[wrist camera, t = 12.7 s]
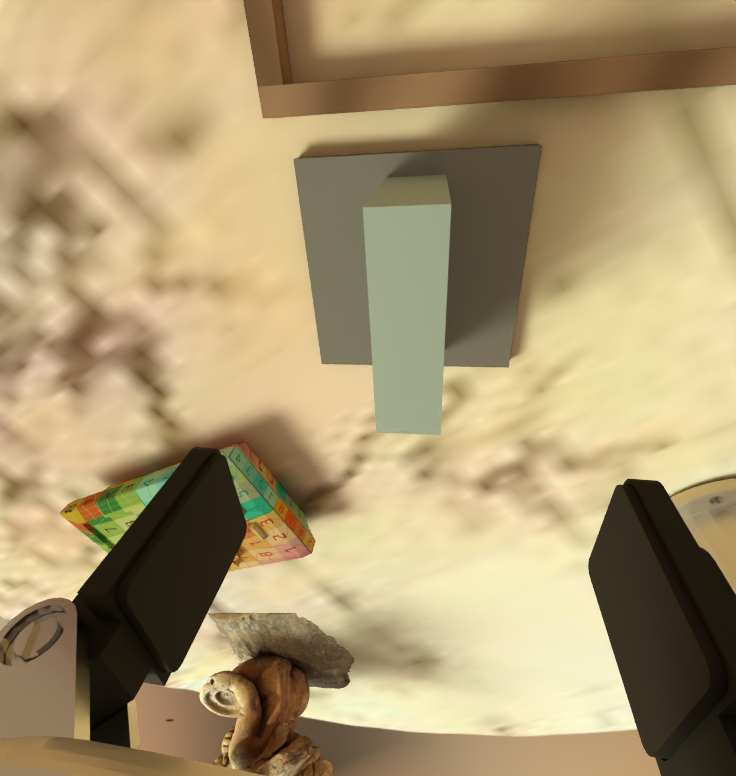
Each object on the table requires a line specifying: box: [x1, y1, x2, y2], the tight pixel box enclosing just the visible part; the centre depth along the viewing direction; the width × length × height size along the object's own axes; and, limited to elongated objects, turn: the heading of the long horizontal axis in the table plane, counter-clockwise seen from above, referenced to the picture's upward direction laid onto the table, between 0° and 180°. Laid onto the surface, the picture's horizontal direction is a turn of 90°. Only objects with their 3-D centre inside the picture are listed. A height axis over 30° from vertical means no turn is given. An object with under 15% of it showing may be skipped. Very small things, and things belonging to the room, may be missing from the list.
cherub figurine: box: [200, 613, 354, 776], centre depth 46 cm, size 18×18×18 cm
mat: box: [294, 144, 542, 367], centre depth 24 cm, size 12×12×1 cm
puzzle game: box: [60, 442, 315, 571], centre depth 37 cm, size 12×5×20 cm
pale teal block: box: [363, 175, 451, 435], centre depth 20 cm, size 3×10×8 cm, turn 3°
